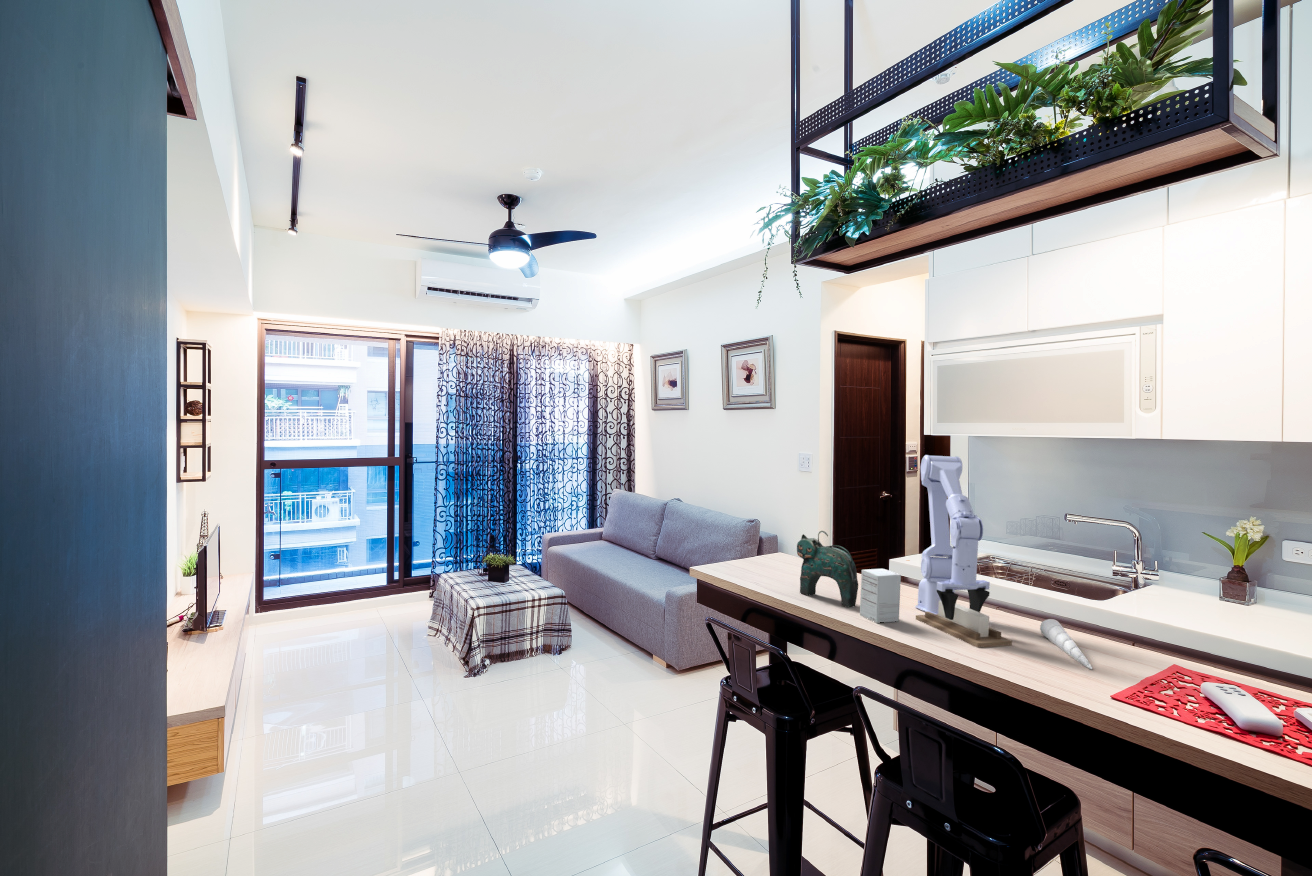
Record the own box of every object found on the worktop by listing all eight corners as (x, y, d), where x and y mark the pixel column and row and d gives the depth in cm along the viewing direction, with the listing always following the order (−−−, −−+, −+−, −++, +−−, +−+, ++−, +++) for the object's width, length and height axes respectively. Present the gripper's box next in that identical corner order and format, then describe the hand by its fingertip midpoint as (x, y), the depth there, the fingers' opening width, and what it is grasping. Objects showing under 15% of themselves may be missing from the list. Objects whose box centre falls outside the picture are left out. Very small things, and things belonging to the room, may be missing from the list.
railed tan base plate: (915, 618, 172) (916, 609, 172) (946, 617, 175) (947, 608, 174) (977, 647, 151) (978, 636, 151) (1011, 644, 153) (1012, 634, 153)
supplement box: (881, 613, 176) (883, 567, 175) (899, 621, 169) (902, 574, 168) (858, 615, 173) (860, 568, 173) (876, 623, 166) (878, 575, 166)
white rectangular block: (937, 619, 169) (938, 600, 168) (947, 618, 169) (948, 600, 169) (978, 637, 155) (979, 616, 155) (988, 636, 156) (989, 616, 156)
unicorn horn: (1072, 669, 140) (1073, 647, 139) (1038, 635, 162) (1039, 616, 162) (1097, 672, 138) (1098, 650, 138) (1059, 638, 161) (1060, 619, 161)
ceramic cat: (792, 592, 194) (795, 527, 194) (806, 589, 198) (809, 525, 198) (848, 609, 179) (851, 538, 178) (862, 606, 183) (865, 536, 182)
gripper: (951, 569, 156) (949, 624, 157) (1000, 567, 160) (997, 621, 161) (932, 562, 163) (929, 615, 163) (978, 561, 167) (976, 612, 167)
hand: (961, 617), depth 163 cm, fingers open, 7 cm apart
